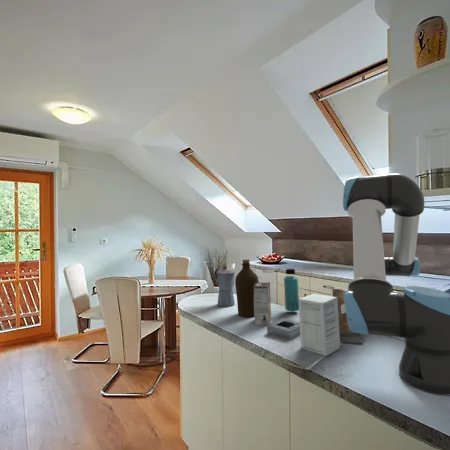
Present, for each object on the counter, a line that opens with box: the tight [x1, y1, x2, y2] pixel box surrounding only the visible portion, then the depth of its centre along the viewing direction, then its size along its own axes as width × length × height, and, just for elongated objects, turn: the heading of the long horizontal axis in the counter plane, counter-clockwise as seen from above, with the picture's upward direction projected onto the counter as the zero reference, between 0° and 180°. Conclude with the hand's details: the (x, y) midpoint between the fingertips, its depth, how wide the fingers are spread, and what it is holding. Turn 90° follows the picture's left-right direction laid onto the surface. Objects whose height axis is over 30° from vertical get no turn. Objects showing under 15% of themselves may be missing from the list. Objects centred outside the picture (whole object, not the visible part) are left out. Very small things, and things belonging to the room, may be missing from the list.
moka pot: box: [214, 265, 236, 307], centre depth 164 cm, size 10×15×20 cm, turn 43°
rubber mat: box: [339, 330, 363, 345], centre depth 114 cm, size 14×12×1 cm
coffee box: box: [253, 281, 272, 326], centre depth 133 cm, size 9×6×16 cm
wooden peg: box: [332, 285, 350, 332], centre depth 114 cm, size 4×4×15 cm
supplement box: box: [298, 293, 341, 357], centre depth 104 cm, size 10×9×17 cm
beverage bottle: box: [283, 268, 300, 312], centre depth 145 cm, size 6×7×20 cm
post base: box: [266, 318, 300, 341], centre depth 119 cm, size 10×10×4 cm
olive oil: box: [234, 259, 260, 318], centre depth 145 cm, size 11×11×25 cm
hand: (335, 308), depth 110 cm, fingers closed on wooden peg, 4 cm apart
